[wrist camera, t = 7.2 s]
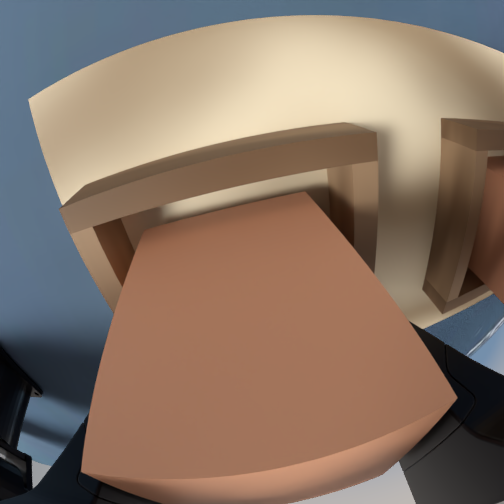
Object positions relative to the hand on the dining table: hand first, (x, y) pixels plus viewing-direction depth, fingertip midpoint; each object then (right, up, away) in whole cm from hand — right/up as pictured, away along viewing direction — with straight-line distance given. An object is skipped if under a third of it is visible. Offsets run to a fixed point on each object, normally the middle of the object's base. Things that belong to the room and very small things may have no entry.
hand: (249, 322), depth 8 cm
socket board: (+6, +4, +4) cm, 8 cm away
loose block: (0, +1, +2) cm, 2 cm away
